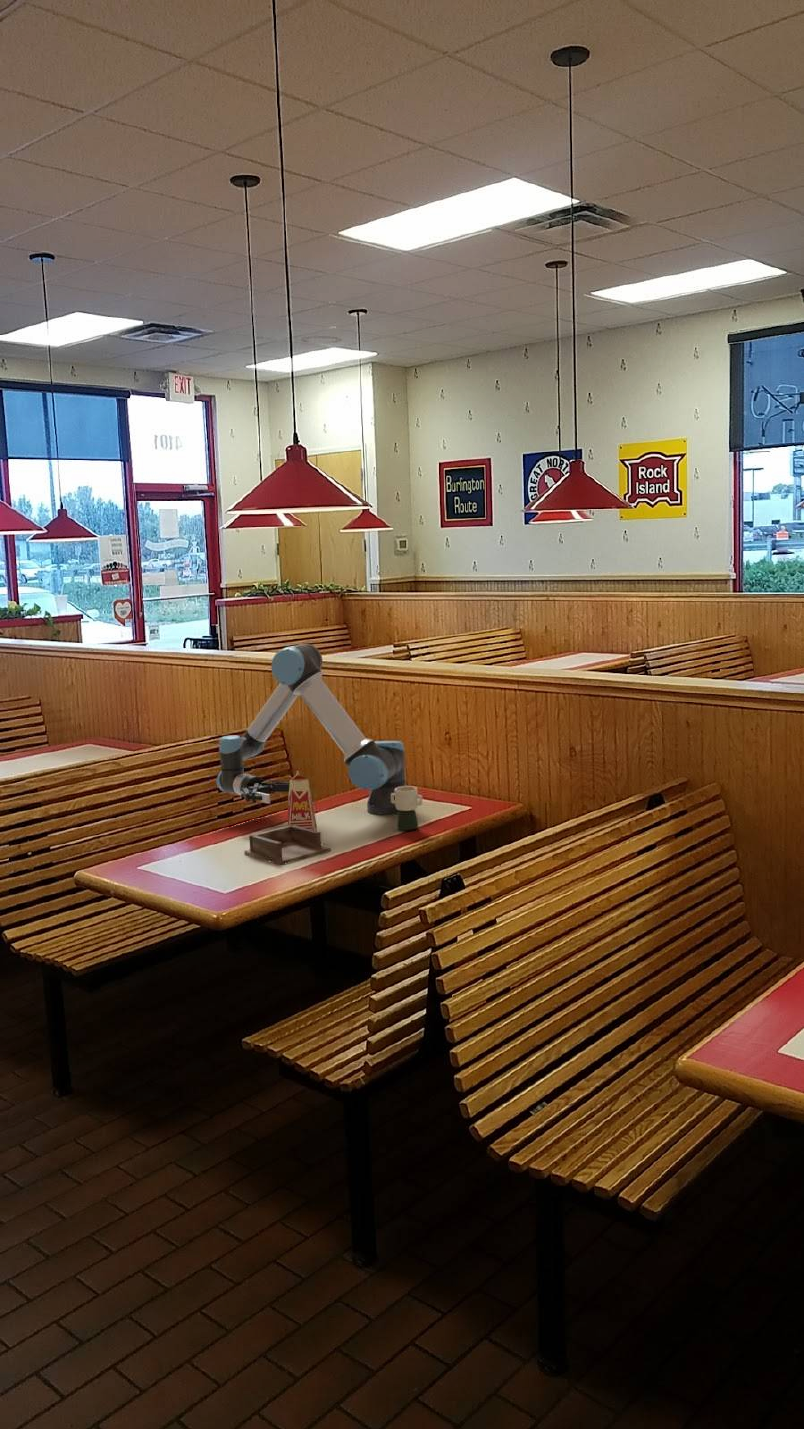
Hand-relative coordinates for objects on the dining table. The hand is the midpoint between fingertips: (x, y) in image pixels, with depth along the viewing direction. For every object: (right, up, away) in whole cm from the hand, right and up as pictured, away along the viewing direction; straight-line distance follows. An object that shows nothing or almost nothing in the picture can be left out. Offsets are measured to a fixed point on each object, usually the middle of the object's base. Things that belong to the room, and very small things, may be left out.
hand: (287, 795), depth 349 cm
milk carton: (+5, -11, -3) cm, 13 cm away
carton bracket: (+3, -15, -26) cm, 30 cm away
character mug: (+38, -10, -7) cm, 40 cm away
